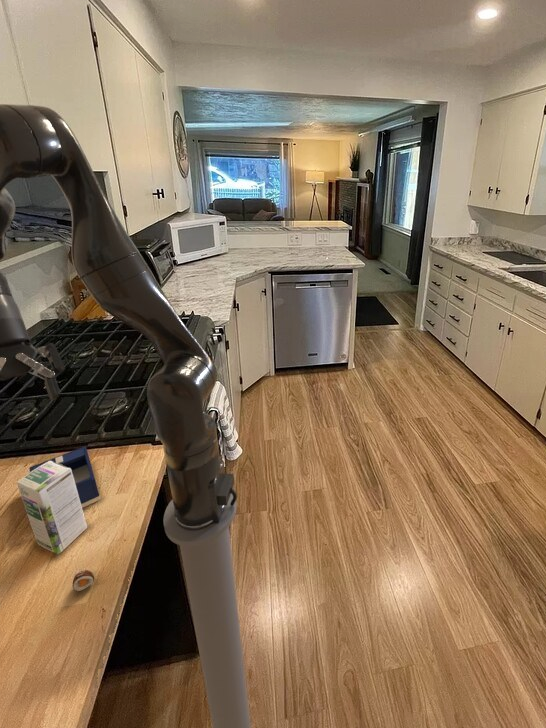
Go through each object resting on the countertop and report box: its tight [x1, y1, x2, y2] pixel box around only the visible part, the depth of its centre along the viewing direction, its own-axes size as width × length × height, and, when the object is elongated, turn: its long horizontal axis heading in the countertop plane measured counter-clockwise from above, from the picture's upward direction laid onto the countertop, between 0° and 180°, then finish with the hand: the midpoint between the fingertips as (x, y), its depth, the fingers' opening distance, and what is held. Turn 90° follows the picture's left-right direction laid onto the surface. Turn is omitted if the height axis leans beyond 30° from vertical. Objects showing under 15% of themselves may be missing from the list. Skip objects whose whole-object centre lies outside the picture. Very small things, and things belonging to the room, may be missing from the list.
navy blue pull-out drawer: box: [28, 445, 101, 509], centre depth 73 cm, size 12×10×7 cm
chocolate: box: [71, 568, 96, 592], centre depth 57 cm, size 3×2×4 cm
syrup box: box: [16, 461, 88, 555], centre depth 63 cm, size 6×6×14 cm
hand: (25, 408), depth 63 cm, fingers open, 8 cm apart
